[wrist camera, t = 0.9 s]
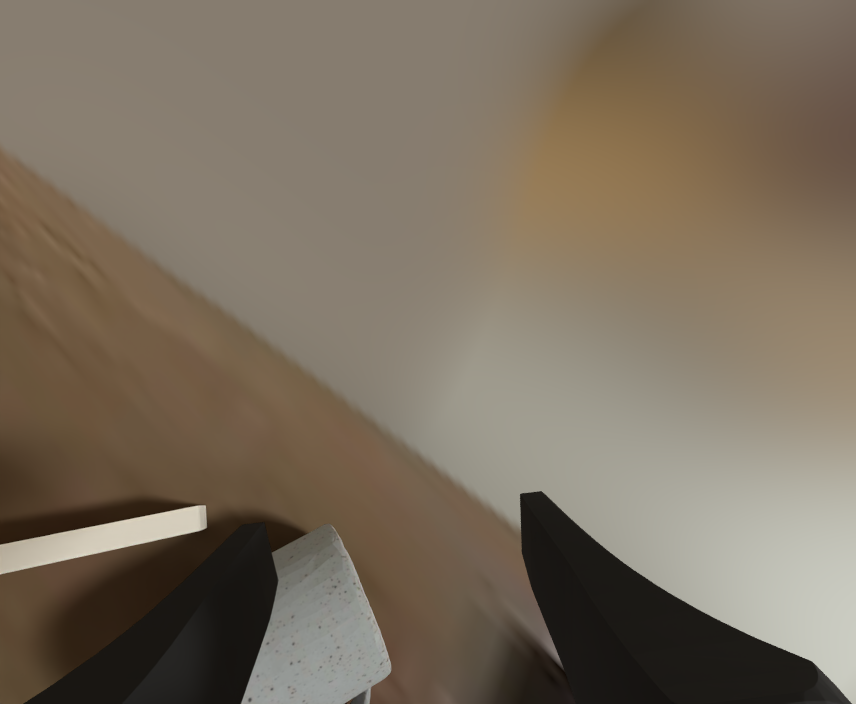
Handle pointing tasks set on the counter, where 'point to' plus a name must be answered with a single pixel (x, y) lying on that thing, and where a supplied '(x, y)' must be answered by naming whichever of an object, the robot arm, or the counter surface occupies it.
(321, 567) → the ceramic mug
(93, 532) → the frame
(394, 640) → the counter surface
